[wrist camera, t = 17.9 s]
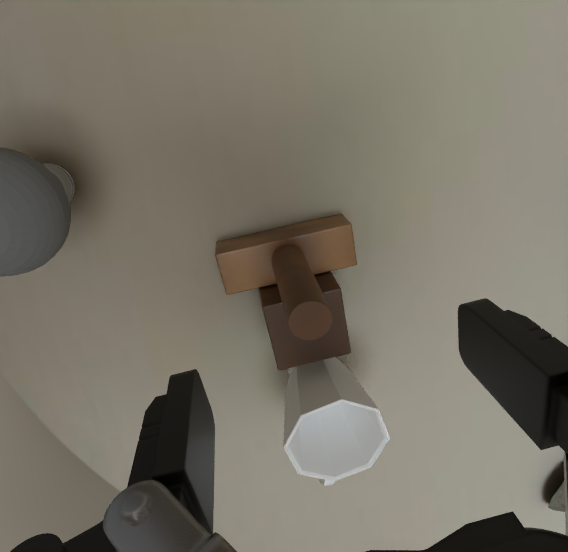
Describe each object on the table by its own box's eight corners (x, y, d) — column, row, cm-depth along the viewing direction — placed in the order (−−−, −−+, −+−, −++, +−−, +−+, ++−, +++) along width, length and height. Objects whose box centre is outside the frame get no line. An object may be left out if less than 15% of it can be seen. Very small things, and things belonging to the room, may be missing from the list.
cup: (359, 328, 33) (397, 396, 26) (349, 425, 37) (379, 507, 30) (271, 333, 32) (284, 404, 25) (270, 432, 36) (282, 518, 29)
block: (271, 332, 32) (278, 371, 28) (256, 274, 30) (261, 307, 25) (333, 316, 32) (351, 353, 28) (323, 258, 30) (340, 288, 26)
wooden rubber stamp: (226, 280, 30) (226, 367, 20) (215, 241, 29) (210, 316, 19) (347, 252, 30) (403, 325, 21) (341, 213, 29) (398, 271, 19)
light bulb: (118, 221, 27) (63, 285, 18) (25, 236, 27) (-78, 309, 18) (88, 125, 25) (7, 144, 16) (-15, 141, 24) (-159, 169, 15)
